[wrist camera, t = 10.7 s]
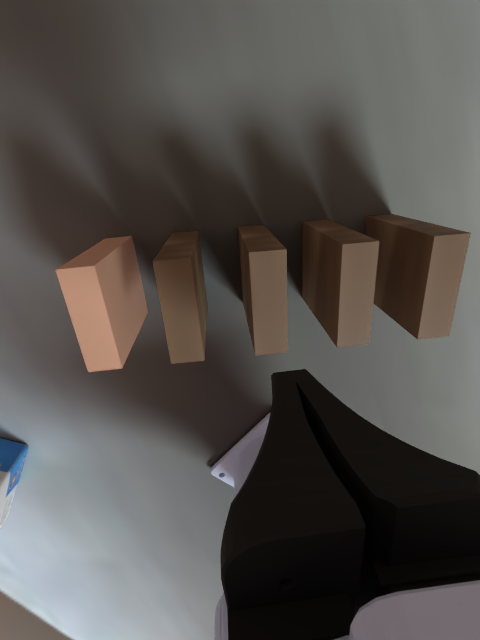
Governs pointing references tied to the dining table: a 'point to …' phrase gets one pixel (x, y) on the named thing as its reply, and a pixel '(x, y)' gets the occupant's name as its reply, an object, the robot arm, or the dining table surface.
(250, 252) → the walnut tile
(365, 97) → the dining table surface
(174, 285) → the walnut tile
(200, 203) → the dining table surface
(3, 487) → the ink box
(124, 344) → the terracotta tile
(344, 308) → the walnut tile
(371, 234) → the brown wooden block
